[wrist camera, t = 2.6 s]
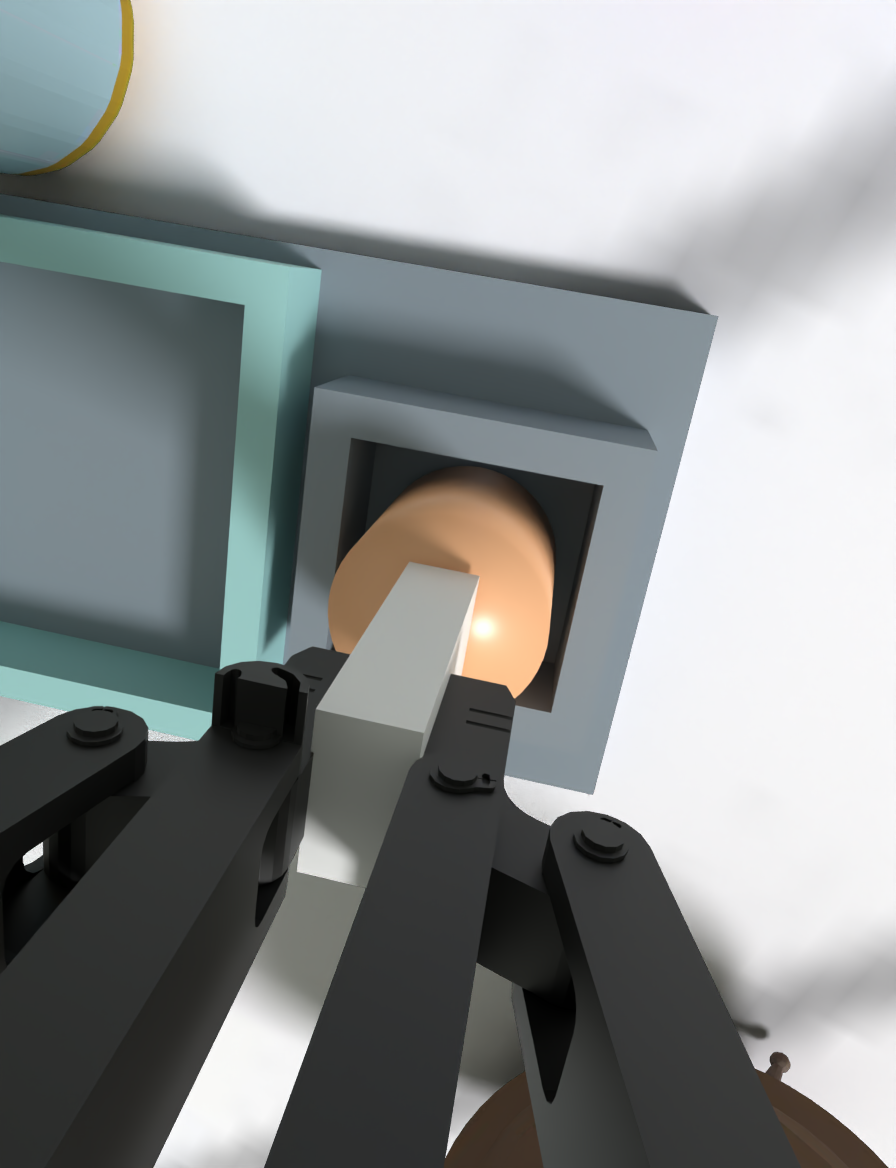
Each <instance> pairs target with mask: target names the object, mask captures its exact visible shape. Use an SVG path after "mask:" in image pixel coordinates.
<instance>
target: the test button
mask: <svg viewBox="0 0 896 1168" xmlns="http://www.w3.org/2000/svg"><path fill="white" fill-rule="evenodd" d="M409 562H414V563H419V564H424V565H429V566H434V567H439V568H444V569H449V570H454V571H459V572H463V573H468V574H473V575H478V576H480V578H479V583H478V588H477V594H476V599H475V605H474V610H473V616H472V621H471V626H470V632H469V637H468V643H467V648H466V653H465V659H464V664H463V670H462V675H461V676H464V677H469V678H474V679H478V680H483V681H488V682H492V683H497V684H502V685H506V686H507V687H508V689H509V691H510V692H511V694H512V696H513V698H514V699H515V698H516V697H517V696H518V695H519V694H521V693H522V692H523V690H524V689H525V688H526V687H527V686H528V685H529V683H530V682H531V681H532V679H533V678H534V676H535V675H536V673H537V672H538V670H539V667H540V665H541V663H542V661H543V659H544V655H545V652H546V649H547V644H548V638H549V630H550V619H551V608H552V597H553V587H554V576H555V565H556V545H555V538H554V534H553V531H552V527H551V525H550V522H549V520H548V517H547V515H546V514H545V512H544V510H543V509H542V507H541V505H540V504H539V503H538V502H537V500H536V499H535V498H534V497H533V496H532V495H531V494H530V493H529V492H528V491H527V490H526V489H525V488H524V487H523V486H521V485H520V484H519V483H517V482H516V481H514V480H513V479H511V478H509V477H507V476H505V475H503V474H501V473H498V472H496V471H493V470H489V469H486V468H482V467H473V466H455V467H448V468H444V469H440V470H436V471H433V472H431V473H429V474H426V475H424V476H423V477H421V478H419V479H418V480H416V481H414V482H413V483H412V484H411V485H409V486H408V487H407V488H406V489H405V490H404V491H403V492H402V493H401V494H400V495H399V496H398V497H397V498H396V499H395V500H394V502H393V503H392V504H391V505H390V506H389V507H388V508H387V509H386V511H385V512H384V513H383V514H382V515H381V516H380V517H379V518H378V520H377V521H376V522H375V523H374V524H373V525H372V526H371V527H370V528H369V530H368V531H367V532H366V533H365V534H364V535H363V536H362V537H361V539H360V540H359V541H358V542H357V543H356V544H355V545H354V546H353V548H352V549H351V550H350V551H349V552H348V554H347V555H346V557H345V558H344V559H343V561H342V562H341V564H340V566H339V568H338V570H337V572H336V574H335V577H334V580H333V582H332V585H331V589H330V595H329V600H328V622H329V629H330V634H331V638H332V642H333V645H334V647H335V650H336V651H337V652H342V653H346V654H351V653H352V651H353V650H354V648H355V646H356V645H357V643H358V642H359V640H360V639H361V637H362V635H363V634H364V632H365V631H366V629H367V628H368V626H369V624H370V623H371V621H372V620H373V618H374V617H375V615H376V613H377V612H378V610H379V609H380V607H381V606H382V604H383V602H384V601H385V599H386V598H387V596H388V595H389V593H390V591H391V590H392V588H393V587H394V585H395V584H396V582H397V580H398V579H399V577H400V576H401V574H402V572H403V571H404V569H405V568H406V566H407V565H408V563H409Z"/></svg>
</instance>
